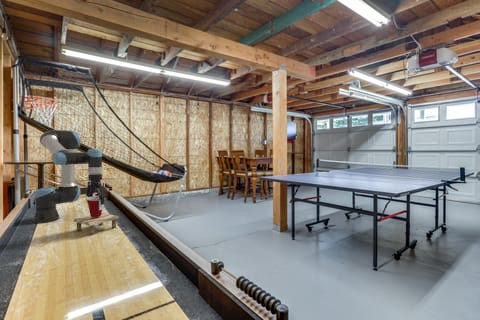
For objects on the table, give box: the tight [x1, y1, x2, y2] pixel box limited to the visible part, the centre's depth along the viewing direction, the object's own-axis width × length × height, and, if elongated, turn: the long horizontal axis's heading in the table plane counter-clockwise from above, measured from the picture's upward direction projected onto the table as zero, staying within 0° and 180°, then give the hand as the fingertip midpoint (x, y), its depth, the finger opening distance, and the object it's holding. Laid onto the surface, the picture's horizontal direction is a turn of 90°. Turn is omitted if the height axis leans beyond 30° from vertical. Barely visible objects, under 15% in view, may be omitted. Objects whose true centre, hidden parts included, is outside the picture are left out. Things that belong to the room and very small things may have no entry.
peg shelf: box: [73, 212, 119, 236], centre depth 159 cm, size 18×18×8 cm
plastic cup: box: [85, 195, 107, 217], centre depth 158 cm, size 11×11×12 cm
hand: (96, 208), depth 158 cm, fingers closed on plastic cup, 11 cm apart
